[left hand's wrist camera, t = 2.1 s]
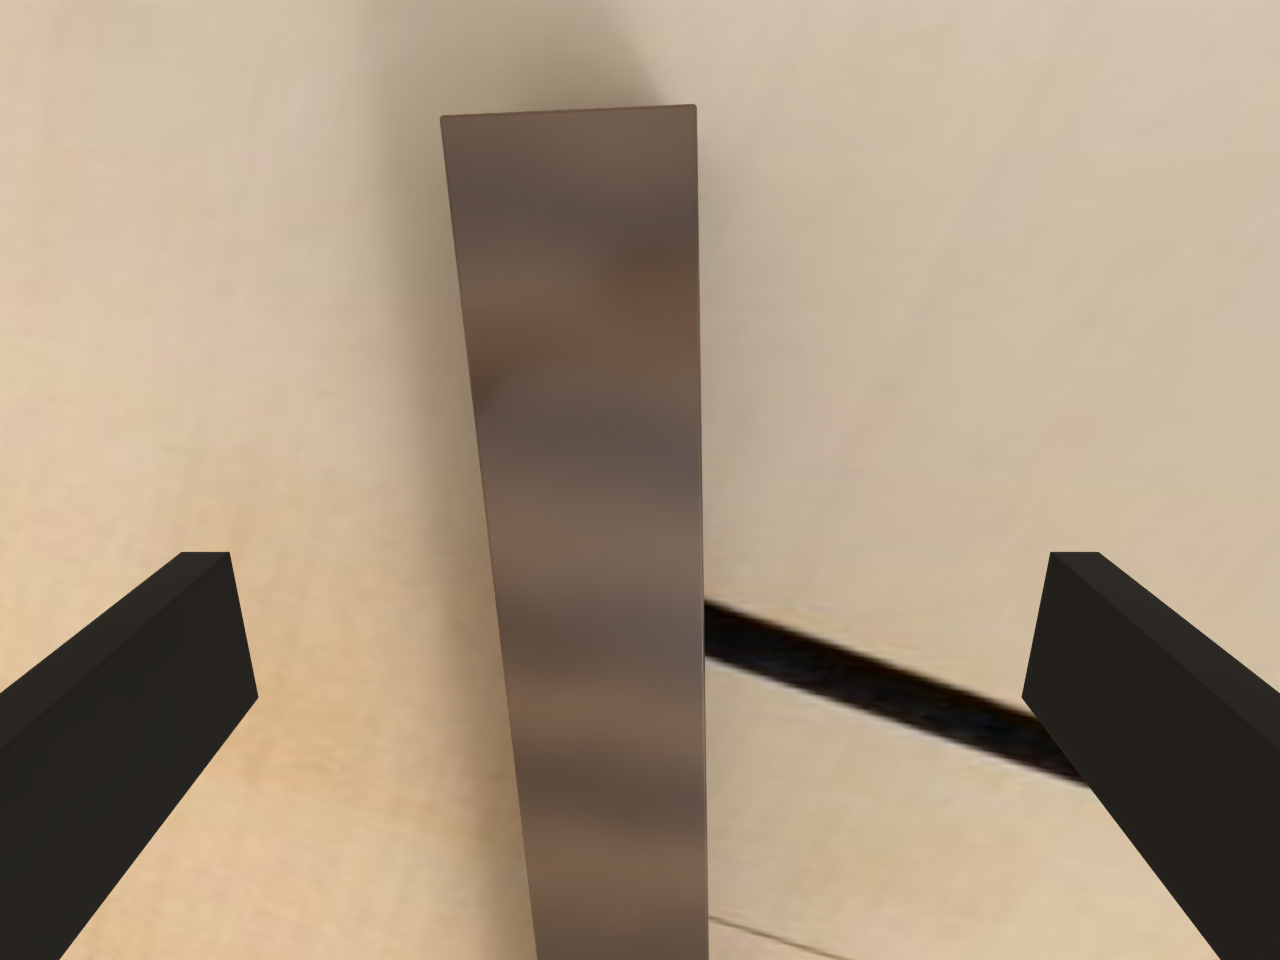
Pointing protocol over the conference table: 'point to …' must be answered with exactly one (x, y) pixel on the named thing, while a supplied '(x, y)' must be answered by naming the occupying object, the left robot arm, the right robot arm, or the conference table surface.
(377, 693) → the conference table surface
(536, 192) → the post
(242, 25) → the conference table surface
